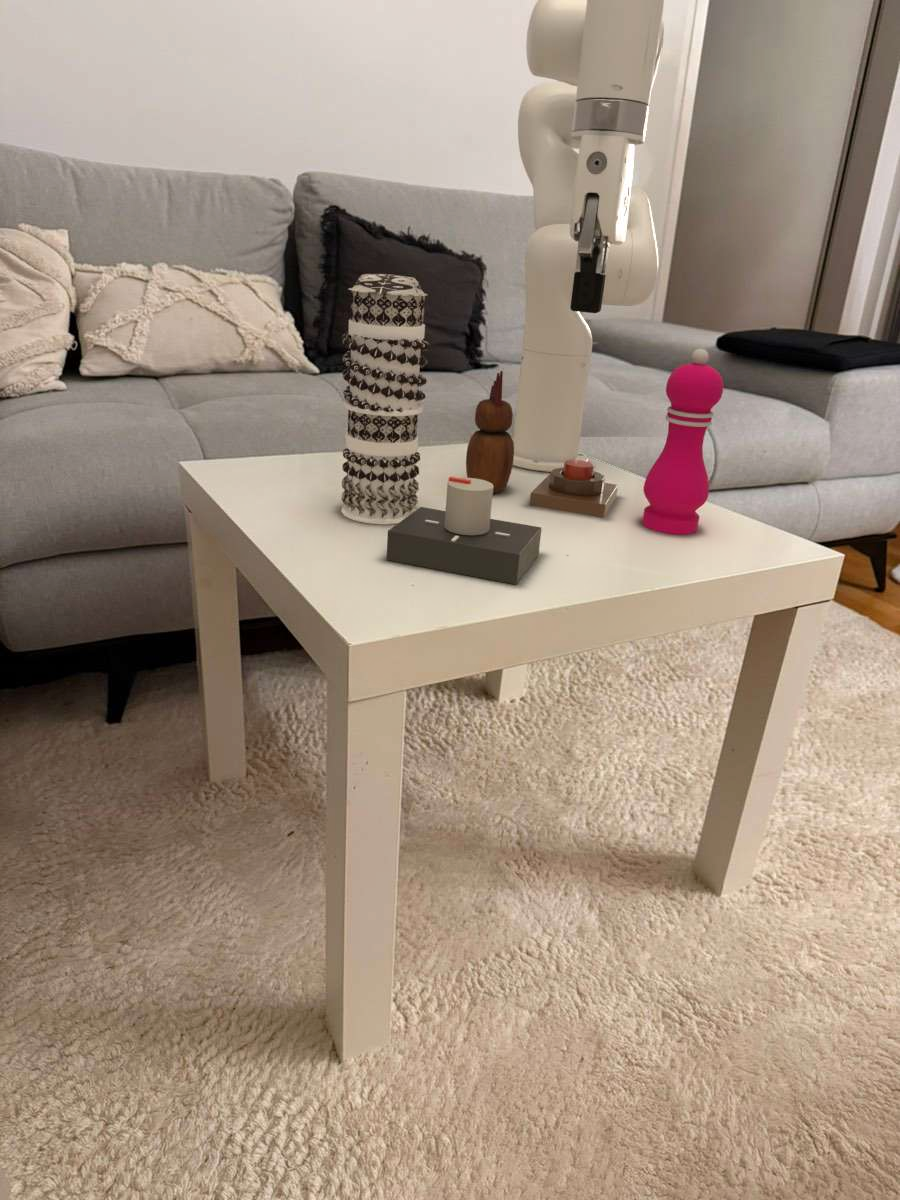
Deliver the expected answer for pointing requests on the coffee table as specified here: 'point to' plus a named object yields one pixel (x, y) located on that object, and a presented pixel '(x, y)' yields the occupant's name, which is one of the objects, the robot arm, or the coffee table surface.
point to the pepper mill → (683, 449)
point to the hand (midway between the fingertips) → (585, 311)
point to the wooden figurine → (492, 440)
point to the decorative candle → (383, 398)
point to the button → (578, 469)
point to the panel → (464, 547)
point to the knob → (468, 506)
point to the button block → (574, 494)
